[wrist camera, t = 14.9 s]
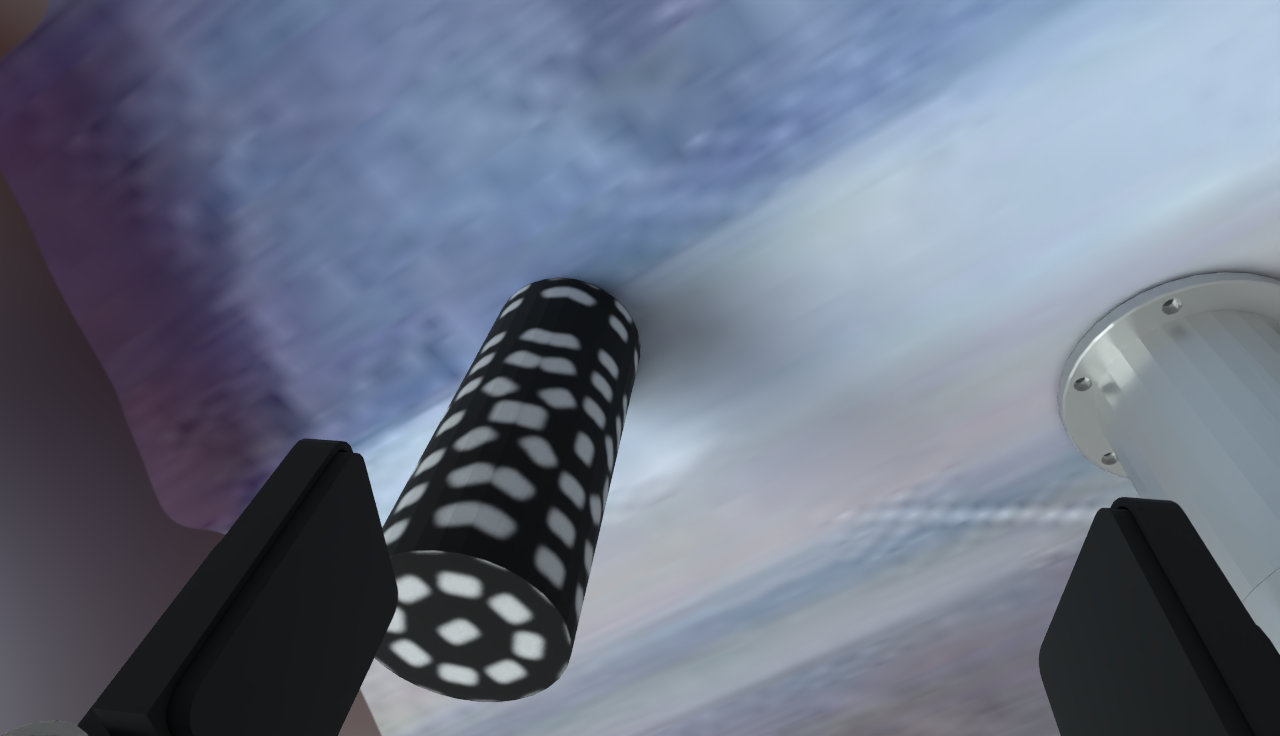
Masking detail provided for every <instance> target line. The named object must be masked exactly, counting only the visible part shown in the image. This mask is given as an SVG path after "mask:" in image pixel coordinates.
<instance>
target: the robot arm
mask: <svg viewBox="0 0 1280 736" xmlns="http://www.w3.org/2000/svg"><path fill="white" fill-rule="evenodd" d="M1057 399H1058V409H1059V415H1060V418H1061V421H1062V423H1063V426H1064V428H1065V431H1066V432H1067V434H1068V436H1069V437H1070V439H1071V441H1072V443H1073V444H1074V446H1075V447H1076V448H1077V449H1078V450H1079V451H1080V452H1081V453H1082V455H1083V456H1084V457H1085V458H1086V459H1088V460H1089V461H1090V462H1092V463H1093V464H1095V465H1096V466H1098V467H1099V468H1101V469H1103V470H1106V471H1108V472H1111V473H1113V474H1116V475H1118V476H1120V477H1125V478H1129V479H1130V481H1131V483H1132V484H1133V486H1134V488H1135V490H1136V491H1137V493H1138V495H1139V496H1140V498H1129V497H1121V498H1118V499H1117V500H1115V501H1114V502H1113V504H1112V506H1111V508H1101V509H1100V510H1099V511H1098V512H1097V514H1096V515H1095V518H1094V520H1093V522H1092V525H1091V527H1090V530H1089V532H1088V534H1087V537H1086V539H1085V542H1084V544H1083V546H1082V549H1081V551H1080V554H1079V556H1078V559H1077V561H1076V563H1075V566H1074V568H1073V571H1072V573H1071V575H1070V578H1069V580H1068V583H1067V585H1066V587H1065V590H1064V592H1063V595H1062V597H1061V600H1060V602H1059V604H1058V607H1057V609H1056V612H1055V614H1054V616H1053V619H1052V621H1051V624H1050V626H1049V628H1048V631H1047V633H1046V636H1045V638H1044V641H1043V643H1042V645H1041V649H1040V654H1039V668H1040V674H1041V678H1042V681H1043V684H1044V687H1045V690H1046V693H1047V696H1048V699H1049V702H1050V705H1051V708H1052V711H1053V714H1054V717H1055V720H1056V723H1057V725H1058V728H1059V731H1060V734H1061V736H1280V281H1279V280H1276V279H1274V278H1269V277H1264V276H1260V275H1255V274H1251V273H1229V272H1221V273H1212V274H1203V275H1195V276H1191V277H1187V278H1183V279H1179V280H1175V281H1172V282H1168V283H1165V284H1163V285H1160V286H1158V287H1155V288H1153V289H1150V290H1148V291H1146V292H1143V293H1141V294H1139V295H1137V296H1136V297H1134V298H1132V299H1130V300H1129V301H1127V302H1125V303H1123V304H1122V305H1120V306H1118V307H1117V308H1115V309H1114V310H1113V311H1112V312H1110V313H1109V314H1108V315H1106V316H1105V317H1104V318H1103V319H1101V320H1100V321H1099V322H1097V323H1096V324H1095V325H1094V326H1093V328H1092V329H1091V330H1090V331H1089V332H1088V333H1087V334H1086V335H1085V336H1084V337H1083V338H1082V339H1081V340H1080V342H1079V343H1078V345H1077V346H1076V348H1075V349H1074V351H1073V352H1072V354H1071V355H1070V357H1069V358H1068V360H1067V363H1066V365H1065V368H1064V370H1063V373H1062V375H1061V378H1060V382H1059V389H1058V395H1057ZM397 603H398V587H397V583H396V579H395V575H394V572H393V568H392V564H391V560H390V556H389V553H388V549H387V545H386V541H385V537H384V534H383V530H382V526H381V522H380V519H379V515H378V511H377V507H376V503H375V500H374V496H373V492H372V488H371V484H370V481H369V477H368V473H367V469H366V465H365V462H364V459H363V457H362V456H361V455H360V454H358V453H353V451H352V448H351V446H350V445H349V444H348V443H347V442H344V441H332V440H318V439H302V440H300V441H298V442H297V443H296V444H295V445H294V447H293V448H292V449H291V450H290V452H289V453H288V454H287V456H286V457H285V458H284V460H283V461H282V462H281V463H280V465H279V466H278V467H277V469H276V470H275V471H274V473H273V474H272V475H271V477H270V478H269V479H268V480H267V482H266V483H265V484H264V486H263V487H262V488H261V490H260V491H259V492H258V493H257V495H256V496H255V497H254V499H253V500H252V501H251V503H250V504H249V505H248V506H247V508H246V509H245V510H244V512H243V513H242V514H241V516H240V517H239V518H238V519H237V521H236V522H235V523H234V525H233V526H232V527H231V529H230V530H229V531H228V533H227V534H226V535H225V537H224V538H223V539H222V540H221V541H220V542H219V543H218V544H217V546H215V548H214V549H213V550H212V551H211V553H210V554H209V555H208V557H207V558H206V559H205V561H204V562H203V563H202V564H201V566H200V567H199V568H198V570H197V571H196V572H195V574H194V575H193V576H192V578H191V579H190V580H189V581H188V583H187V584H186V585H185V586H184V588H183V589H182V591H181V592H180V593H179V594H178V596H177V597H176V598H175V599H174V601H173V602H172V603H171V605H170V606H169V607H168V609H167V610H166V611H165V613H164V614H163V615H162V616H161V618H160V619H159V620H158V622H157V623H156V624H155V625H154V627H153V628H152V630H151V631H150V632H149V633H148V635H147V636H146V637H145V638H144V640H143V641H142V642H141V644H140V645H139V646H138V648H137V649H136V650H135V651H134V653H133V654H132V655H131V657H130V658H129V659H128V661H127V662H126V663H125V665H124V666H123V667H122V668H121V670H120V671H119V672H118V674H117V675H116V676H115V678H114V679H113V680H112V681H111V683H110V684H109V685H108V687H107V688H106V689H105V690H104V692H103V693H102V694H101V696H100V697H99V698H98V699H97V701H96V702H95V703H94V705H93V706H92V707H91V709H90V710H89V711H88V712H87V714H86V715H85V716H84V718H83V719H82V720H81V722H80V723H79V724H78V725H75V724H72V723H67V722H63V721H58V720H56V721H45V722H35V723H32V724H29V725H26V726H23V727H20V728H17V729H14V730H11V731H8V732H7V733H5V734H3V735H1V736H338V734H339V731H340V729H341V727H342V725H343V723H344V721H345V719H346V717H347V715H348V712H349V710H350V708H351V706H352V704H353V702H354V700H355V697H356V695H357V693H358V691H359V689H360V687H361V685H362V683H363V681H364V678H365V676H366V674H367V672H368V670H369V668H370V666H371V664H372V661H373V659H374V657H375V655H376V653H377V651H378V649H379V647H380V644H381V642H382V640H383V638H384V636H385V634H386V632H387V630H388V627H389V625H390V623H391V621H392V619H393V617H394V614H395V612H396V608H397Z"/></svg>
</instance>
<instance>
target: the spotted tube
mask: <svg viewBox="0 0 1280 736" xmlns="http://www.w3.org/2000/svg"><path fill="white" fill-rule="evenodd" d="M639 358H640V341H639V335H638V331H637V329H636V327H635V324H634V322H633V320H632V318H631V317H630V315H629V314H628V312H627V311H626V309H625V308H624V307H623V306H622V305H621V304H620V303H619V302H618V301H617V300H616V299H615V298H613V297H612V296H611V295H609V294H608V293H606V292H605V291H603V290H602V289H600V288H597V287H595V286H593V285H591V284H589V283H585V282H581V281H578V280H573V279H563V278H557V279H545V280H542V281H538V282H535V283H531V284H530V285H528V286H526V287H524V288H522V289H520V290H519V291H518V292H516V293H515V294H514V295H513V296H512V297H511V298H510V299H509V300H508V302H507V303H506V304H505V306H504V307H503V309H502V310H501V312H500V314H499V316H498V318H497V320H496V321H495V323H494V325H493V327H492V329H491V331H490V332H489V334H488V336H487V338H486V340H485V341H484V343H483V345H482V347H481V349H480V351H479V352H478V354H477V356H476V358H475V360H474V362H473V363H472V365H471V367H470V369H469V371H468V373H467V374H466V376H465V378H464V380H463V382H462V383H461V385H460V387H459V389H458V391H457V393H456V394H455V396H454V398H453V400H452V402H451V404H450V405H449V407H448V409H447V411H446V413H445V415H444V416H443V418H442V420H441V422H440V424H439V425H438V427H437V429H436V431H435V433H434V435H433V436H432V438H431V440H430V442H429V444H428V446H427V447H426V449H425V451H424V453H423V455H422V457H421V458H420V460H419V462H418V464H417V466H416V467H415V469H414V471H413V473H412V475H411V477H410V478H409V480H408V482H407V484H406V486H405V488H404V489H403V491H402V493H401V495H400V497H399V499H398V500H397V502H396V504H395V506H394V508H393V509H392V511H391V513H390V515H389V517H388V519H387V520H386V522H385V524H384V526H383V528H382V530H383V534H384V537H385V541H386V545H387V549H388V553H389V556H390V560H391V564H392V568H393V572H394V575H395V579H396V583H397V587H398V603H397V608H396V612H395V614H394V617H393V619H392V621H391V623H390V625H389V627H388V630H387V632H386V634H385V636H384V638H383V640H382V642H381V644H380V647H379V649H378V651H377V653H376V655H375V657H374V658H375V659H376V660H378V661H379V662H380V663H381V664H382V665H383V666H385V667H386V668H388V669H389V670H390V671H392V672H393V673H395V674H396V675H398V676H399V677H401V678H403V679H405V680H407V681H409V682H411V683H413V684H415V685H417V686H419V687H421V688H424V689H427V690H429V691H432V692H435V693H437V694H441V695H445V696H449V697H453V698H457V699H463V700H470V701H477V702H501V701H510V700H517V699H521V698H524V697H528V696H532V695H534V694H536V693H538V692H540V691H542V690H544V689H546V688H548V687H549V686H551V685H552V684H553V683H554V682H555V681H557V680H558V679H559V678H560V676H561V675H562V674H563V672H564V671H565V669H566V668H567V666H568V663H569V659H570V656H571V653H572V648H573V644H574V640H575V635H576V631H577V627H578V622H579V618H580V613H581V609H582V605H583V600H584V596H585V592H586V587H587V583H588V579H589V574H590V570H591V566H592V561H593V557H594V553H595V548H596V544H597V540H598V535H599V531H600V527H601V522H602V518H603V514H604V509H605V505H606V501H607V496H608V492H609V488H610V483H611V479H612V475H613V470H614V466H615V462H616V457H617V453H618V449H619V444H620V440H621V436H622V431H623V427H624V423H625V418H626V414H627V410H628V405H629V401H630V397H631V392H632V388H633V384H634V379H635V375H636V371H637V366H638V362H639Z"/></svg>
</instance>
